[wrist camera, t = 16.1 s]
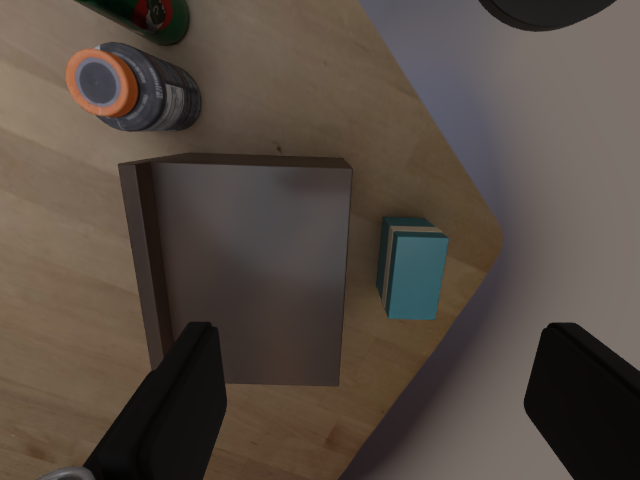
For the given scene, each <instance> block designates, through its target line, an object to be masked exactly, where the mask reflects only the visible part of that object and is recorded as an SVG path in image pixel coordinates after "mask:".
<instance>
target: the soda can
mask: <svg viewBox="0 0 640 480" xmlns="http://www.w3.org/2000/svg"><path fill="white" fill-rule="evenodd" d="M74 1H76V2H78V3H80V4H81V5H83V6H85V7H87V8H89V9H91V10H93V11H95V12H96V13H98V14H100V15H102V16H104V17H106V18H108V19H110V20H112V21H113V22H115V23H117V24H119V25H121V26H123V27H125V28H127V29H128V30H130V31H132V32H134V33H136V34H138V35H140V36H142V37H143V38H145V39H147V40H149V41H151V42H153V43H155V44H159V45H169V44H173V43H175V42H177V41H178V40H179V39H180V38H181V37H182V36H183V35H184V33H185V31H186V29H187V26H188V20H189V13H188V7H187V4H186V1H185V0H74Z"/></svg>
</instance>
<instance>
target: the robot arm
mask: <svg viewBox="0 0 640 480" xmlns="http://www.w3.org/2000/svg"><path fill="white" fill-rule="evenodd" d="M226 407H227V396H226V388H225V380H224V372H223V363H222V355H221V347H220V339H219V331H218V328H217V327H212V324H211V322H189V323H188V324H187V325H186V327H185V328H184V330H183V331H182V333H181V334H180V335H179V337H178V338H177V340H176V341H175V343H174V344H173V346H172V347H171V348H170V350H169V351H168V353H167V354H166V356H165V357H164V359H163V360H162V361H161V363H160V364H159V366H158V367H157V369H155V370H153V371H151V372H150V373H149V374H148V375H147V376H146V378H145V379H144V380H143V382H142V383H141V385H140V386H139V387H138V389H137V390H136V392H135V393H134V394H133V396H132V397H131V399H130V400H129V401H128V403H127V404H126V406H125V407H124V409H123V410H122V411H121V413H120V414H119V416H118V417H117V418H116V420H115V421H114V423H113V424H112V425H111V427H110V428H109V430H108V431H107V432H106V434H105V435H104V437H103V438H102V439H101V441H100V442H99V444H98V445H97V446H96V448H95V449H94V451H93V452H92V453H91V455H90V456H89V458H88V459H87V460H86V462H85V463H84V465H83V466H82V467H80V466H69V467H64V468H59V469H57V470H54V471H52V472H50V473H47V474H45V475H43V476H41V477H40V478H38V479H36V480H203V477H204V474H205V471H206V468H207V465H208V462H209V460H210V457H211V454H212V451H213V448H214V445H215V442H216V439H217V436H218V433H219V430H220V427H221V424H222V421H223V418H224V416H225V412H226ZM524 408H525V411H526V413H527V415H528V416H529V418H530V419H531V421H532V422H533V423H534V425H535V426H536V428H537V429H538V430H539V432H540V433H541V434H542V436H543V437H544V439H545V440H546V441H547V442H548V444H549V445H550V447H551V448H552V450H553V451H554V453H555V454H556V455H557V457H558V458H559V460H560V461H561V462H562V463H563V465H564V466H565V468H566V469H567V471H568V472H569V473H570V475H571V476H572V478H573V479H574V480H640V371H638V370H637V369H636V368H634V367H633V366H632V365H631V364H629V363H628V362H627V361H625V360H624V359H623V358H621V357H620V356H619V355H617V354H616V353H615V352H613V351H612V350H611V349H610V348H608V347H607V346H605V345H604V344H603V343H602V342H600V341H599V340H598V339H596V338H595V337H594V336H592V335H591V334H590V333H588V332H587V331H586V330H585V329H583V328H582V327H581V326H579V325H578V324H576V323H550V324H549V325H548V326H547V328H544V329H543V331H542V333H541V337H540V341H539V345H538V348H537V352H536V356H535V360H534V364H533V368H532V371H531V375H530V379H529V383H528V386H527V390H526V394H525V398H524Z"/></svg>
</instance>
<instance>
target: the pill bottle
mask: <svg viewBox="0 0 640 480" xmlns="http://www.w3.org/2000/svg"><path fill="white" fill-rule="evenodd" d="M66 83H67V86H68V89H69V91H70V94H71V95H72V97H73V98H74V100H75V101H76V102H77V103H78V104H79V105H80V106H81V107H82V108H83V109H85V110H86V111H88V112H90V113H92V114H95V115H96V116H97V117H98V118H99V119H100V120H102V121H103V122H104V123H106V124H107V125H109V126H111V127H113V128H116V129H119V130H122V131H129V132H132V131H180V130H183V129H186V128H188V127H189V126H191V125H192V124H193V123H194V122H195V120H196V119H197V117H198V115H199V113H200V109H201V96H200V92H199V89H198V87H197V85H196V83H195V81H194V80H193V78H192V77H191V76H190V75H189V74H188V73H187V72H185V71H184V70H183V69H181V68H179V67H178V66H175V65H173V64H171V63H169V62H166V61H164V60H161V59H159V58H157V57H155V56H152V55H150V54H148V53H145V52H143V51H141V50H139V49H136V48H134V47H132V46H129V45H126V44H123V43H116V42H111V43H104V44H101V45H99V46H97V47H95V48H94V49H84V50H80V51H78V52H77V53H75V54H74V55H73V56H72V57H71V58H70V60H69V62H68V64H67V67H66Z"/></svg>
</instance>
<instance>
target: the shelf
mask: <svg viewBox="0 0 640 480" xmlns="http://www.w3.org/2000/svg"><path fill="white" fill-rule="evenodd" d="M118 168H119V175H120V181H121V187H122V193H123V199H124V205H125V211H126V217H127V223H128V229H129V235H130V242H131V248H132V254H133V260H134V266H135V272H136V278H137V284H138V290H139V296H140V302H141V309H142V315H143V321H144V327H145V333H146V339H147V345H148V351H149V357H150V363H151V369H152V371H153V370H155V369H157V367H158V366H159V364H160V363H161V361H162V360H163V359H164V357H165V356H166V354H167V353H168V351H169V350H170V348H171V347H172V346H173V344H174V343H175V341H176V340H177V338H178V337H179V335H180V334H181V333H182V331H183V330H184V328H185V327H186V325H187V324H188V323H189V322H211V324H212V327H217V328H218V331H219V339H220V347H221V355H222V363H223V372H224V380H225V383H230V384H267V385H304V386H339V375H340V359H341V344H342V328H343V313H344V297H345V281H346V266H347V250H348V235H349V219H350V204H351V188H352V173H353V169H352V168H351V166H350V165H349V164H348V163H347V162H346V161H345V160H344V158H329V157H300V156H271V155H241V154H212V153H183V154H176V155H170V156H164V157H157V158H151V159H144V160H138V161H132V162H125V163H119V164H118Z"/></svg>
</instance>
